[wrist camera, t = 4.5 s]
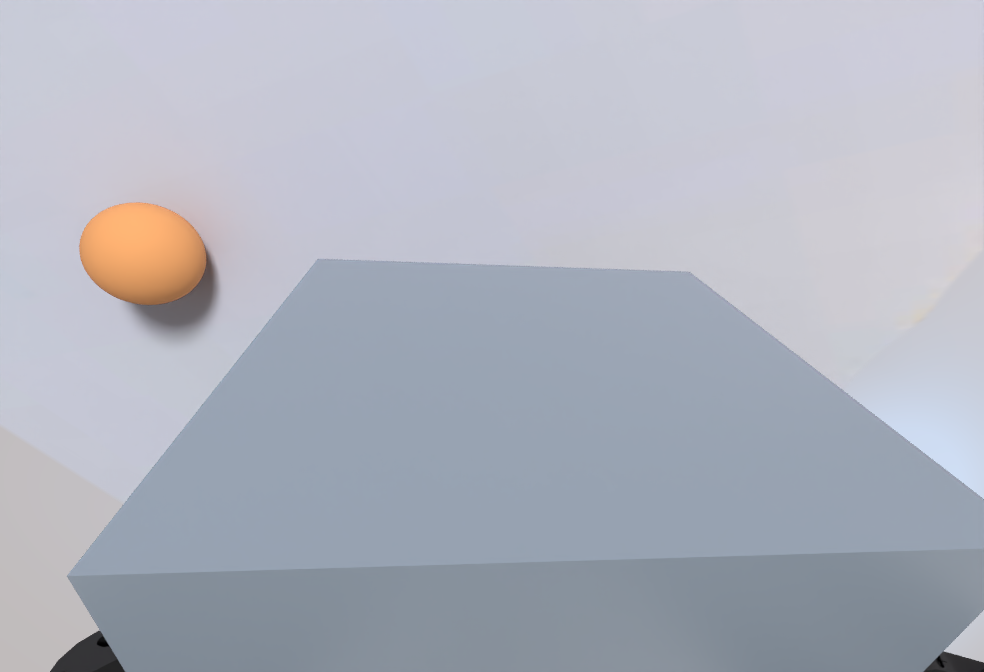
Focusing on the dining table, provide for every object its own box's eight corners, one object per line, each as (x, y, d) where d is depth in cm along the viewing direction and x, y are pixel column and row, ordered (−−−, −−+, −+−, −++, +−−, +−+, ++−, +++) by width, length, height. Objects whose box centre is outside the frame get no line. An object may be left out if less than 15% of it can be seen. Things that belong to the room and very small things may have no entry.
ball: (232, 282, 26) (188, 322, 22) (140, 281, 26) (76, 321, 21) (210, 194, 24) (156, 219, 19) (108, 191, 23) (29, 215, 19)
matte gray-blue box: (618, 518, 18) (747, 850, 10) (350, 524, 17) (263, 898, 9) (689, 271, 13) (1044, 546, 5) (317, 259, 12) (67, 576, 4)
